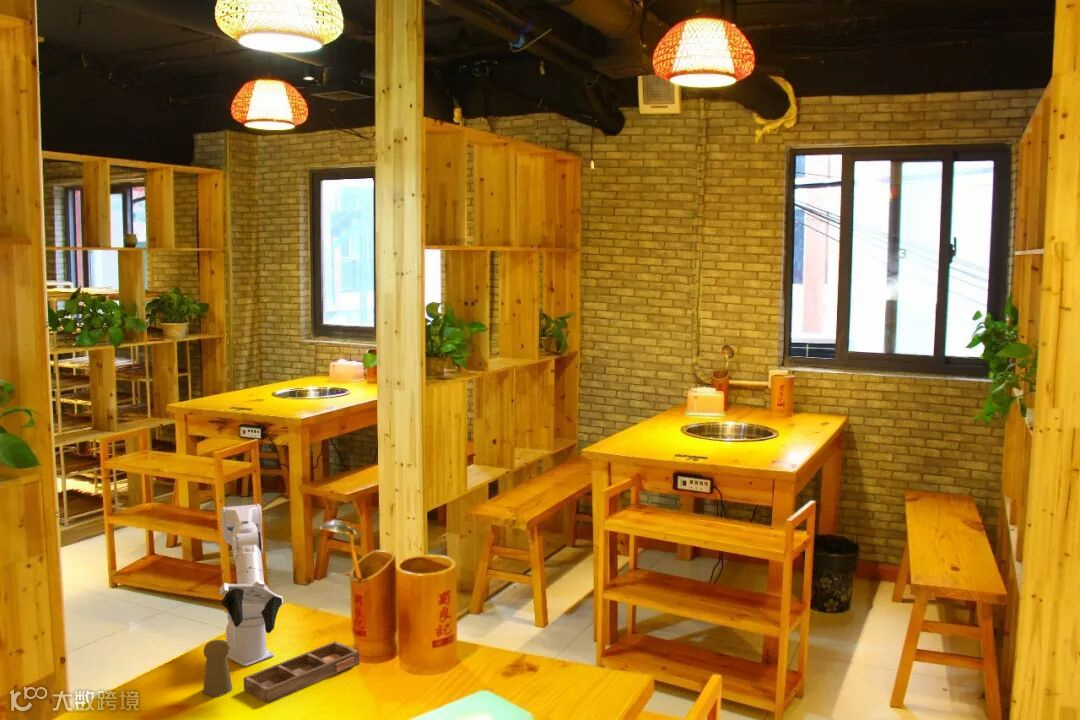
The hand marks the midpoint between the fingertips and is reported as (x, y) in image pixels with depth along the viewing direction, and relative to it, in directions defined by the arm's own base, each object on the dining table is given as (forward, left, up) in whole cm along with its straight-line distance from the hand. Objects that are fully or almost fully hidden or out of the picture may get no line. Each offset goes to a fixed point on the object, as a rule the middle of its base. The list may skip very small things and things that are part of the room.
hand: (254, 627), depth 194 cm
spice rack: (+1, +12, -15) cm, 19 cm away
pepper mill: (-8, -4, -16) cm, 18 cm away
